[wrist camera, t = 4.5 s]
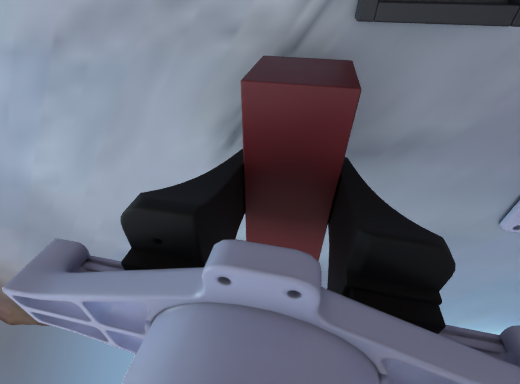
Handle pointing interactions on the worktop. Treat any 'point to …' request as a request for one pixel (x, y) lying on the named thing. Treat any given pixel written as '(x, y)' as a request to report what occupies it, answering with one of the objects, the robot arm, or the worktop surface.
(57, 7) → the worktop surface
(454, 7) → the cradle
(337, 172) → the dark red block
